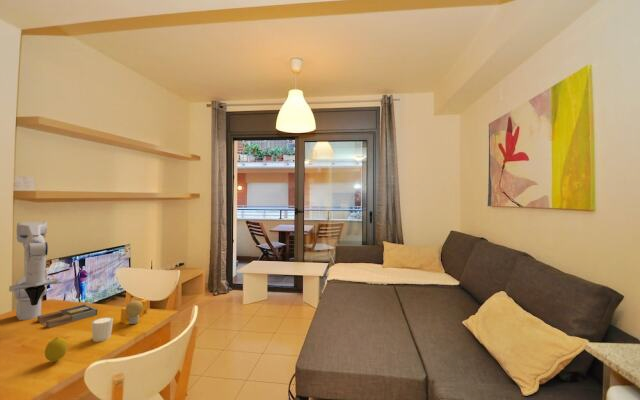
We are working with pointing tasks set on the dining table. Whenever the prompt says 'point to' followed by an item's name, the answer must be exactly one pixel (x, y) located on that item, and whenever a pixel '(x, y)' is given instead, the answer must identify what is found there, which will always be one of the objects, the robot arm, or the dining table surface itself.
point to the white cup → (102, 328)
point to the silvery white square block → (84, 309)
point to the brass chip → (73, 312)
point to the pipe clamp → (126, 317)
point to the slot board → (55, 319)
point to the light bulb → (134, 311)
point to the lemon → (56, 349)
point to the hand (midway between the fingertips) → (34, 304)
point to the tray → (81, 315)
